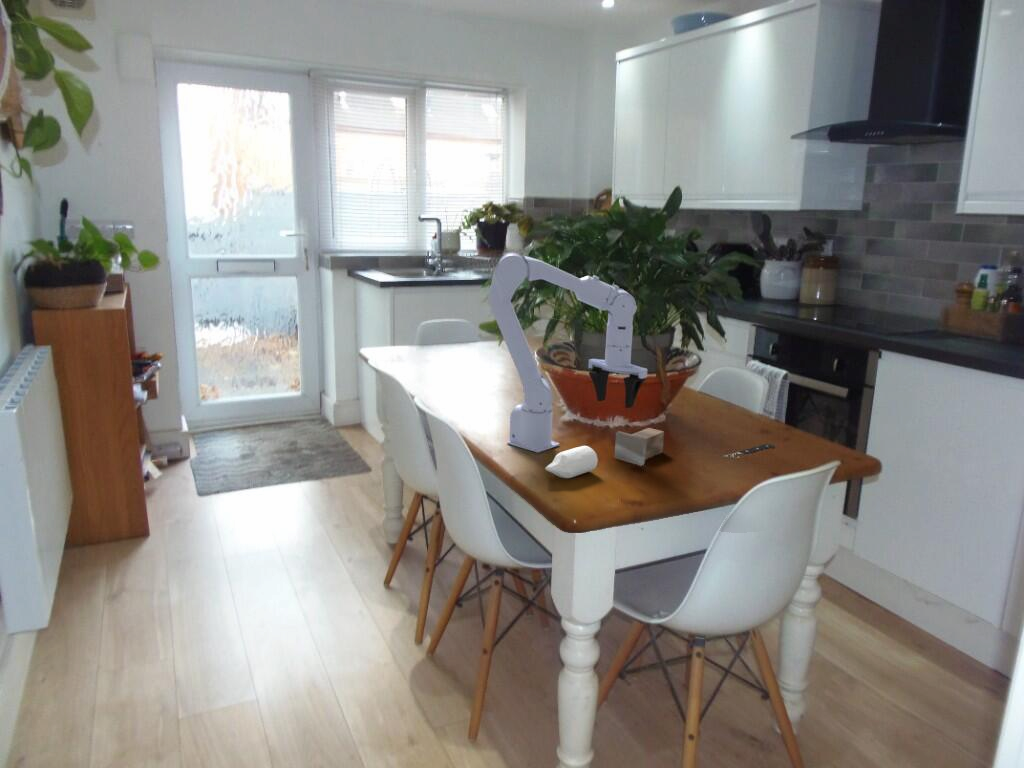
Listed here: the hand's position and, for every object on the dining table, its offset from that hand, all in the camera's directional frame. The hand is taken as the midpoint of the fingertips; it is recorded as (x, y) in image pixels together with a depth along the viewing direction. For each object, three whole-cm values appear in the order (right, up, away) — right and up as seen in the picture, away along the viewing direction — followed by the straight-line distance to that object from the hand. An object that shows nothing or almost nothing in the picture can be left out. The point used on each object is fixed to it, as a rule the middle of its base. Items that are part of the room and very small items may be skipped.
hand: (615, 403), depth 169 cm
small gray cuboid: (+6, -12, -2) cm, 13 cm away
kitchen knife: (+28, -13, -3) cm, 31 cm away
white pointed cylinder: (-7, -11, -13) cm, 19 cm away
